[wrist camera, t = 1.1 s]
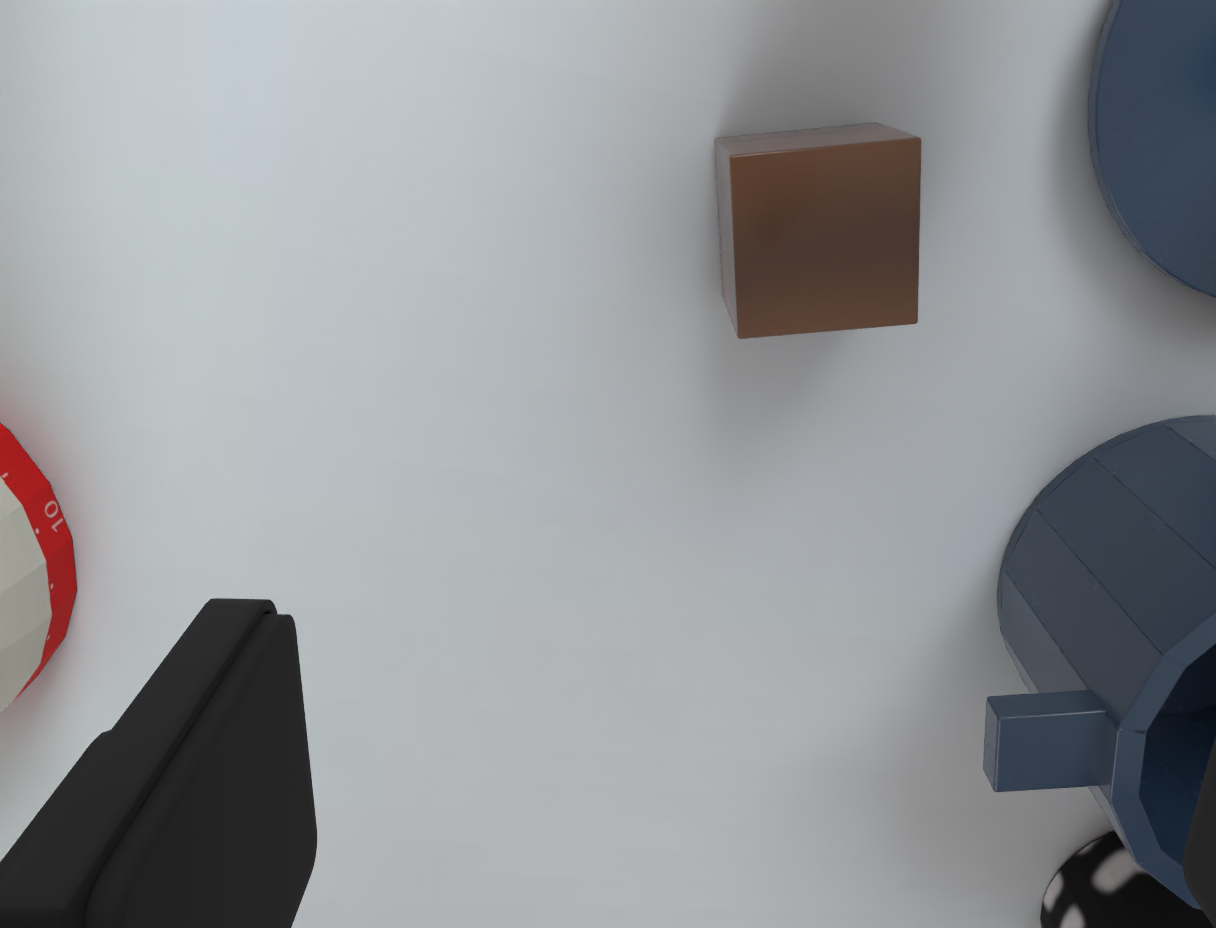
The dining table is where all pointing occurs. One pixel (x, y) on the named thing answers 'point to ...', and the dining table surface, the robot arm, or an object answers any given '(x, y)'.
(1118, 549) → the pot
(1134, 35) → the lid
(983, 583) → the dining table surface
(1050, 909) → the spotted tube
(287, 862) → the robot arm
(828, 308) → the block
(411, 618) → the dining table surface
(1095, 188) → the dining table surface
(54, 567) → the kitchen timer
